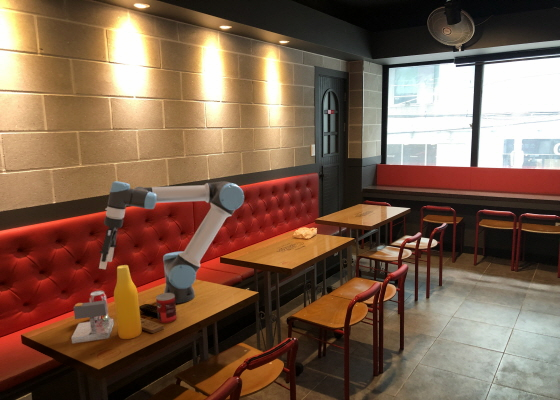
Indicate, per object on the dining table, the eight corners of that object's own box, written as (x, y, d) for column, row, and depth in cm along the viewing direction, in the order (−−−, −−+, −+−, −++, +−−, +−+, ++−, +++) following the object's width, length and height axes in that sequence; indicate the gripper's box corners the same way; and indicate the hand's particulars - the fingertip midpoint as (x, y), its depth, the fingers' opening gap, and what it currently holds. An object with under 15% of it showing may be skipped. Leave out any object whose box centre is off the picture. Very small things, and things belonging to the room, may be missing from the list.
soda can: (102, 321, 203) (99, 296, 201) (88, 321, 205) (85, 295, 203) (111, 315, 210) (108, 290, 208) (97, 314, 211) (94, 289, 209)
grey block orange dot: (108, 323, 194) (105, 299, 193) (107, 327, 191) (104, 302, 189) (78, 327, 192) (75, 303, 190) (76, 331, 188) (73, 306, 186)
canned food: (161, 316, 206) (158, 293, 204) (178, 315, 205) (176, 292, 203) (156, 323, 198) (153, 299, 196) (174, 323, 198) (172, 298, 196)
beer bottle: (146, 329, 192) (138, 263, 188) (135, 340, 183) (127, 270, 179) (125, 329, 194) (118, 263, 189) (114, 339, 185) (105, 270, 180)
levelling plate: (113, 324, 200) (112, 312, 199) (108, 338, 186) (107, 325, 186) (79, 328, 197) (78, 317, 196) (72, 343, 184) (70, 330, 183)
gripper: (110, 212, 209) (102, 257, 211) (99, 219, 185) (90, 270, 186) (127, 215, 211) (119, 259, 212) (118, 223, 186) (109, 273, 188)
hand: (105, 264), depth 199 cm, fingers open, 13 cm apart
